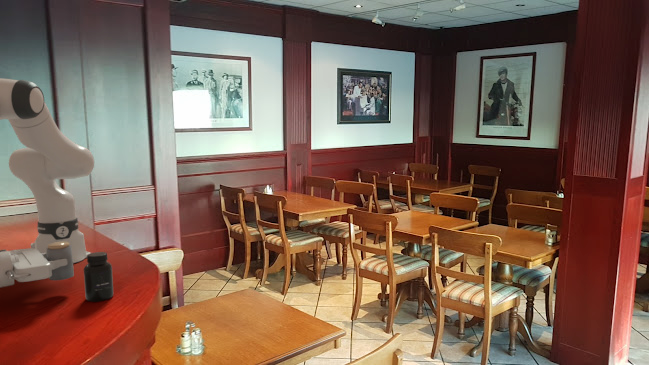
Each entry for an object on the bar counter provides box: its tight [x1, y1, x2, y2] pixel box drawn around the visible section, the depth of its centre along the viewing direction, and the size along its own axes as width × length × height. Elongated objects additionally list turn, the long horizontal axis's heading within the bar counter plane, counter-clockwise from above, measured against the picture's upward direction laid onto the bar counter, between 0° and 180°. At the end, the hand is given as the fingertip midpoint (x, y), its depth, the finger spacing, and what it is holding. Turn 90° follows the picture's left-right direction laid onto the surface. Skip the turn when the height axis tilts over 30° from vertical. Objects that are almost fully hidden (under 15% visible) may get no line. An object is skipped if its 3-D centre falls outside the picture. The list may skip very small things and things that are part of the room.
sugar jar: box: [46, 242, 75, 281], centre depth 132 cm, size 6×6×9 cm
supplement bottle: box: [83, 251, 114, 303], centre depth 128 cm, size 7×7×12 cm
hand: (63, 258), depth 132 cm, fingers closed on sugar jar, 6 cm apart
